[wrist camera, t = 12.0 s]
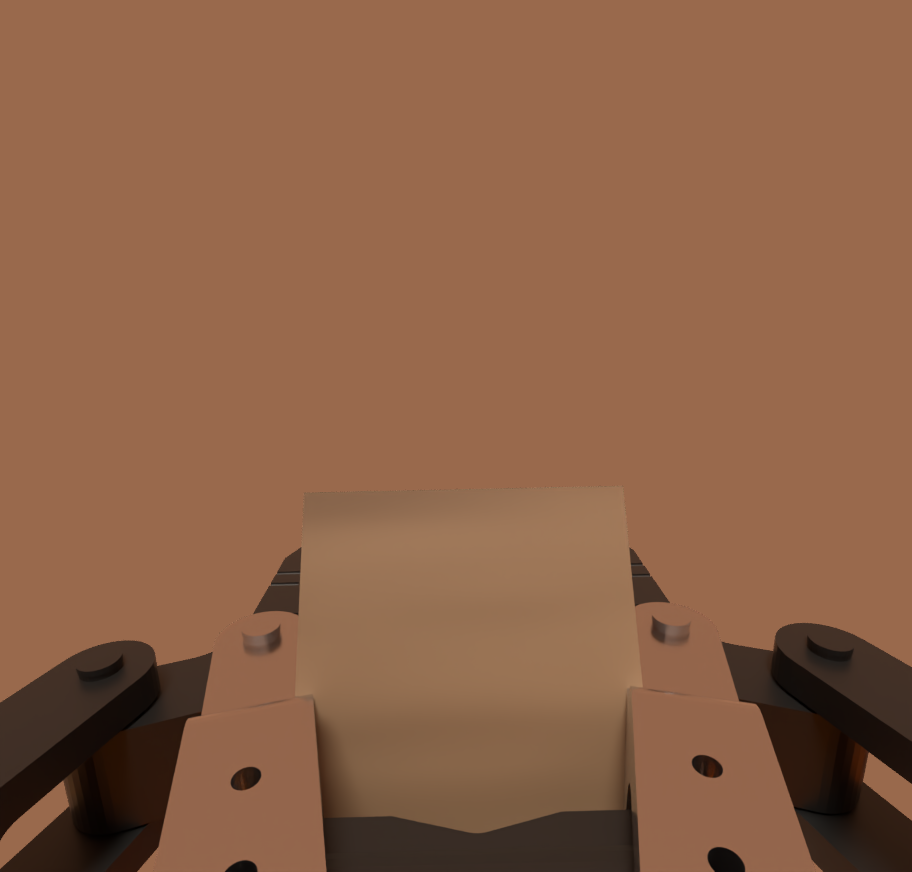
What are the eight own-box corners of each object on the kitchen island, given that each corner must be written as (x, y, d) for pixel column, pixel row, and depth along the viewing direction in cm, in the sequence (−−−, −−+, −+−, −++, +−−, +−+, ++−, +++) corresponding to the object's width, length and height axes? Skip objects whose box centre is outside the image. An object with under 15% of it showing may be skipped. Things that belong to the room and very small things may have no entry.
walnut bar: (417, 653, 30) (417, 571, 31) (497, 651, 30) (494, 569, 31) (287, 861, 6) (304, 492, 7) (658, 851, 6) (623, 485, 7)
